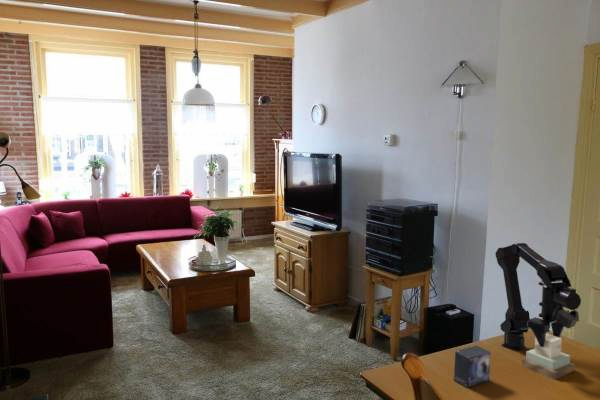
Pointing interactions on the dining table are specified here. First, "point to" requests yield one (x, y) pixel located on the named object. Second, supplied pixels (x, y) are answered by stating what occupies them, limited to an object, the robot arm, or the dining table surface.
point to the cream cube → (549, 346)
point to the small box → (472, 366)
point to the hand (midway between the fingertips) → (549, 343)
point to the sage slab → (548, 360)
